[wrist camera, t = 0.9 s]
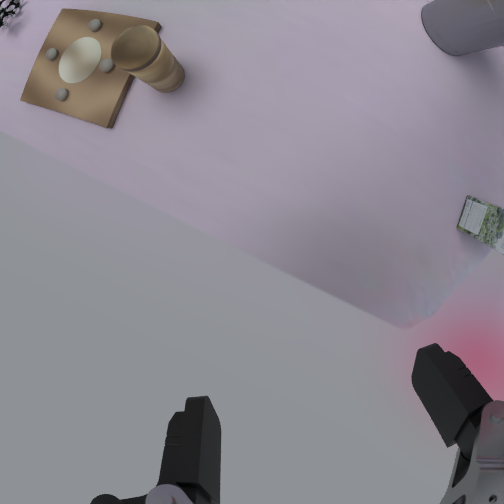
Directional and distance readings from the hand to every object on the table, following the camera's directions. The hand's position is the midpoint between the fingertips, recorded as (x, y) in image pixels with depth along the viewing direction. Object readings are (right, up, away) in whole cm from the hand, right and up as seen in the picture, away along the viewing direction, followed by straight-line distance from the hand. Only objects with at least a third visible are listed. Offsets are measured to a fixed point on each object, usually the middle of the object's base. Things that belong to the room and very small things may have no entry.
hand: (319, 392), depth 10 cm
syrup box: (+32, +11, +27) cm, 43 cm away
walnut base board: (-23, +29, +16) cm, 41 cm away
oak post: (-12, +25, +18) cm, 33 cm away
